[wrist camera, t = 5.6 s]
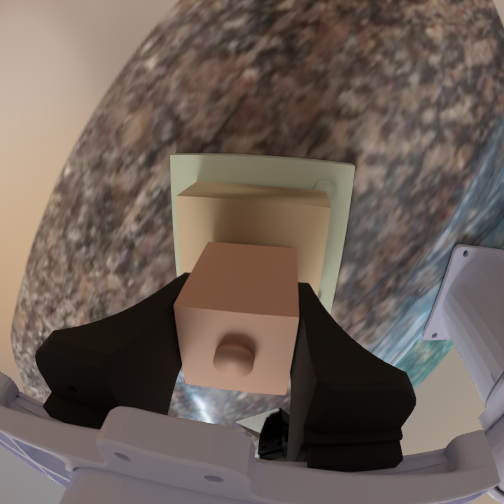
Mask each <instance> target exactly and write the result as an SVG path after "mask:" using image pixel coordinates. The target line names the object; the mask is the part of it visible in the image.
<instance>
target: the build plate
mask: <svg viewBox="0 0 504 504" xmlns="http://www.w3.org/2000/svg"><path fill="white" fill-rule="evenodd" d="M170 165H171V194H172V215H173V231H174V245H175V258H176V270H177V277H179V276H180V275H181V267H180V254H179V240H178V223H177V203H176V196H177V195H178V194H180V193H181V192H182V191H184V190H185V189H187V188H188V187H189V186H191V185H192V184H194V183H195V182H216V183H234V184H249V185H263V186H276V187H287V188H298V189H308V190H318V191H326V194H327V197H328V200H329V203H330V206H331V213H330V221H329V228H328V235H327V242H326V249H325V255H324V261H323V268H322V274H321V280H320V285H319V291H318V298H319V300H320V302H321V303H322V305H323V306H324V307H325V309H326V310H327V311H328V313H329V314H330V312H331V307H332V303H333V298H334V293H335V289H336V284H337V279H338V273H339V268H340V263H341V258H342V252H343V246H344V240H345V234H346V228H347V222H348V216H349V209H350V202H351V195H352V187H353V179H354V171H355V165H353V164H352V163H344V162H336V161H327V160H317V159H307V158H296V157H283V156H268V155H250V154H225V153H174V154H171V155H170Z"/></svg>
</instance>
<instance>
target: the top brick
mask: <svg viewBox="0 0 504 504" xmlns="http://www.w3.org/2000/svg"><path fill="white" fill-rule="evenodd" d="M174 313H175V320H176V327H177V334H178V341H179V347H180V354H181V360H182V366H183V372H184V377H185V383H186V384H191V385H198V386H204V387H211V388H218V389H226V390H234V391H243V392H253V393H263V394H276V395H286V389H287V384H288V379H289V374H290V369H291V363H292V358H293V352H294V346H295V341H296V335H297V329H298V323H299V298H298V278H297V260H296V248H285V247H272V246H260V245H247V244H233V243H220V242H208V243H207V244H206V246H205V248H204V250H203V252H202V253H201V255H200V257H199V259H198V261H197V262H196V264H195V266H194V268H193V270H192V272H191V273H190V275H189V277H188V279H187V281H186V283H185V284H184V286H183V288H182V290H181V292H180V294H179V296H178V298H177V299H176V301H175V303H174Z"/></svg>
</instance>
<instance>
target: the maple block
mask: <svg viewBox="0 0 504 504" xmlns="http://www.w3.org/2000/svg"><path fill="white" fill-rule="evenodd" d="M176 203H177V223H178V240H179V254H180V267H181V275H182V274H183V273H185V272H188V273H191V272H192V270H193V268H194V266H195V264H196V262H197V261H198V259H199V257H200V255H201V253H202V252H203V250H204V248H205V246H206V244H207V243H208V242H220V243H233V244H247V245H260V246H272V247H285V248H296V260H297V278H298V282H305V283H309V284H310V285H311V287H312V289H313V290H314V292H315V294H316V295H317V297H318V291H319V285H320V280H321V274H322V268H323V261H324V255H325V249H326V242H327V235H328V228H329V221H330V213H331V206H330V203H329V200H328V197H327V194H326V191H318V190H308V189H298V188H287V187H276V186H263V185H249V184H234V183H216V182H195V183H194V184H192V185H191V186H189V187H188V188H187V189H185V190H184V191H182V192H181V193H180V194H178V195H177V196H176Z"/></svg>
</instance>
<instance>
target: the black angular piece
mask: <svg viewBox="0 0 504 504" xmlns="http://www.w3.org/2000/svg"><path fill="white" fill-rule="evenodd" d="M289 420H290V415H289V414H287V413H286V412H285V411H284V410H282V409H281V408H277V409H274V410H271V411H268V412H265V413H262V414H259V415H256V416H253V417H250V418H246V419H243V420H240V421H236V423H237V424H238V425H240V426H241V427H243V428H244V429H246V430H247V431H248V432H250V433H251V434H253V435H254V436H256V437H257V438H259V447H258V455H260V457H259V459H263V460H268V461H284V462H286V457H287V447H288V434H289ZM263 444H264V445H263Z"/></svg>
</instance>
